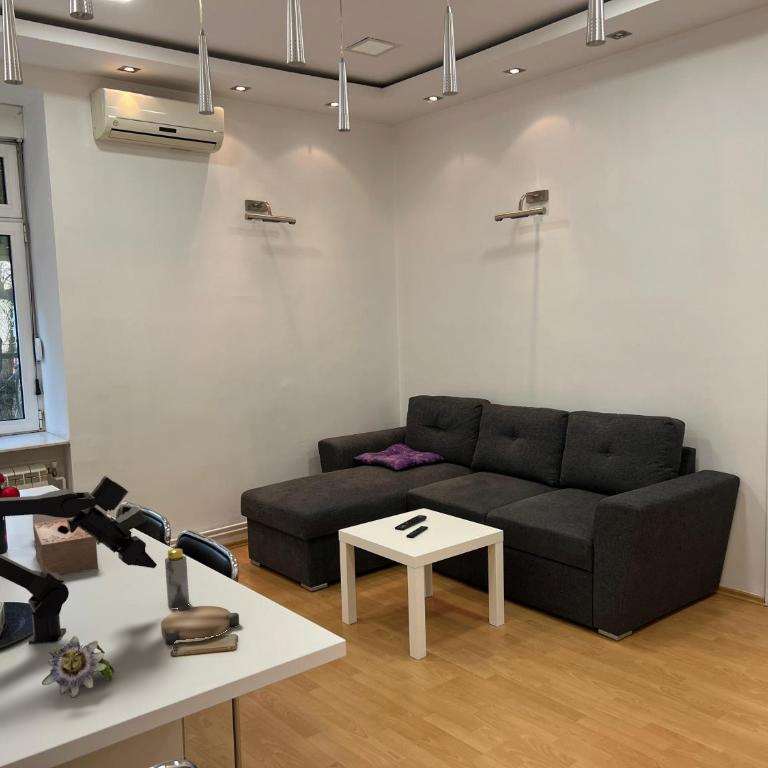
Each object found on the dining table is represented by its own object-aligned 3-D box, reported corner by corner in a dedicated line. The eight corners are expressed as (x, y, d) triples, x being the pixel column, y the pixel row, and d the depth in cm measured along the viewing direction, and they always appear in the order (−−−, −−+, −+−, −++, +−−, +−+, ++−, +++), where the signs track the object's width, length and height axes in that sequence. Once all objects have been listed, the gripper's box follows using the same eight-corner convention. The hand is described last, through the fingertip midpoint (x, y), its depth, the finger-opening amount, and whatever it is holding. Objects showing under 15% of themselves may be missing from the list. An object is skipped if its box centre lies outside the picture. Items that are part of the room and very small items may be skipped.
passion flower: (77, 721, 152) (34, 687, 146) (74, 687, 161) (34, 654, 156) (125, 682, 154) (84, 647, 148) (119, 651, 163) (81, 616, 158)
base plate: (234, 640, 173) (234, 630, 173) (153, 646, 172) (153, 635, 172) (243, 610, 191) (242, 600, 190) (169, 614, 189) (169, 605, 189)
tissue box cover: (36, 555, 241) (33, 523, 240) (85, 546, 248) (82, 516, 247) (44, 579, 219) (41, 545, 218) (98, 569, 226) (95, 535, 225)
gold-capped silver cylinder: (187, 608, 193) (183, 553, 192) (166, 609, 193) (162, 554, 191) (191, 600, 198) (187, 547, 197) (170, 601, 198) (166, 548, 197)
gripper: (133, 506, 178) (183, 543, 186) (112, 491, 194) (159, 526, 201) (100, 546, 175) (153, 582, 182) (82, 528, 191) (131, 562, 198)
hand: (150, 561), depth 191 cm, fingers open, 9 cm apart
